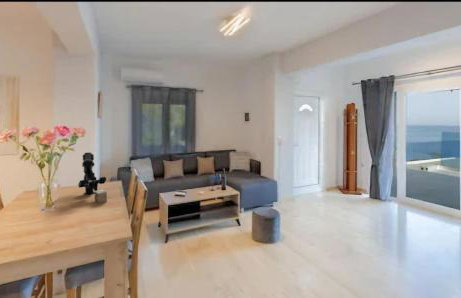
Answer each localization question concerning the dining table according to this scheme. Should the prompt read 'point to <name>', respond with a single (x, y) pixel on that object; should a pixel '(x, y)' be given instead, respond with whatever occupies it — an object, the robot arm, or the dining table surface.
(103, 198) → the polished metal block
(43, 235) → the dining table surface
